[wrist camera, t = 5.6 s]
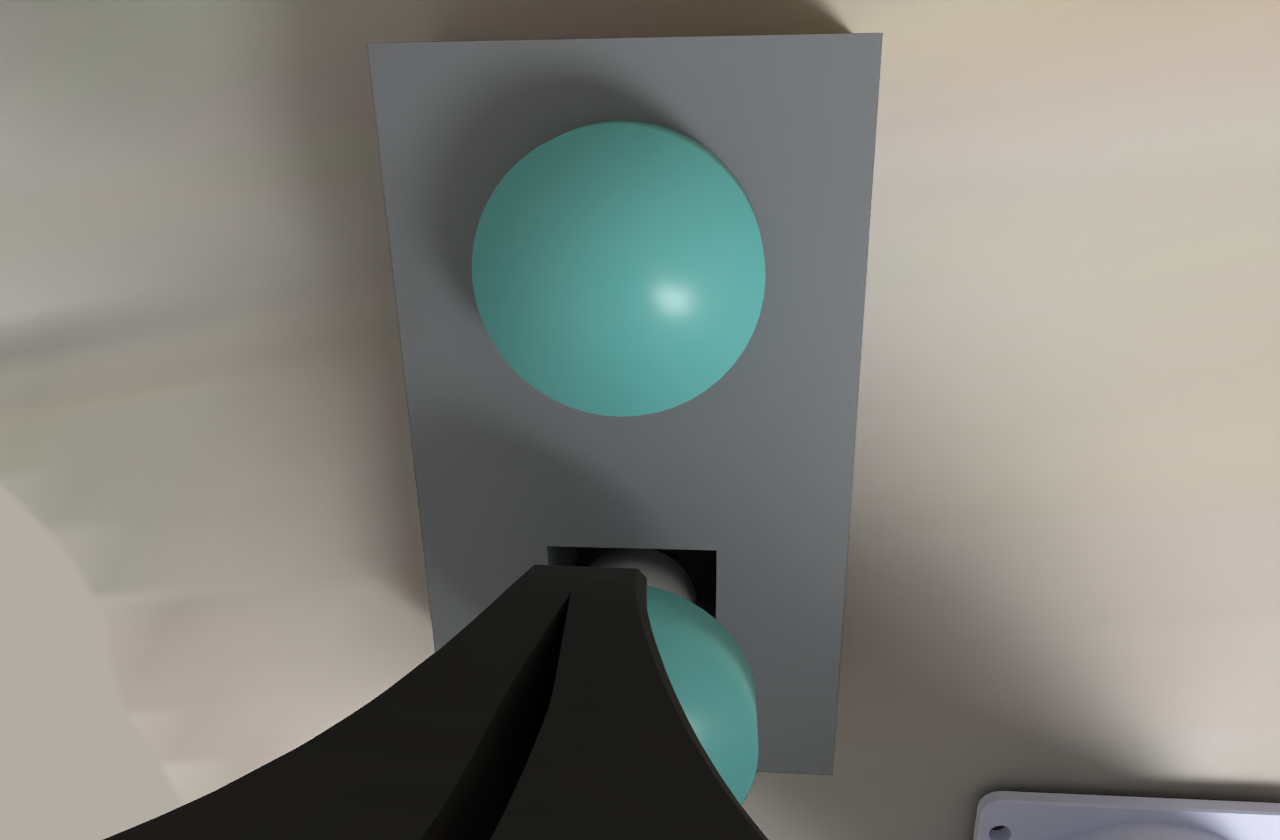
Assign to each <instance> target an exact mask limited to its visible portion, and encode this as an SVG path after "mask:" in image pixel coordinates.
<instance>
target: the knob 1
mask: <svg viewBox="0 0 1280 840" xmlns="http://www.w3.org/2000/svg"><path fill="white" fill-rule="evenodd" d="M765 280H766V277H765V258H764V252H763V246H762V240H761V235H760V230H759V225H758V222H757V219H756V216H755V213H754V209H753V207H752V205H751V203H750V201H749V199H748V196H747V194H746V192H745V191H744V189H743V188H742V186H741V184H740V183H739V181H738V180H737V178H736V177H735V175H734V174H733V173H732V172H731V171H730V169H729V168H728V167H727V166H726V165H725V164H724V162H723V161H721V160H720V159H719V158H718V157H717V156H716V155H715V154H714V153H713V152H711V151H710V150H709V149H708V148H706V147H705V146H703V145H702V144H701V143H699V142H698V141H696V140H695V139H693V138H691V137H689V136H687V135H685V134H683V133H681V132H679V131H677V130H674V129H672V128H669V127H666V126H663V125H660V124H656V123H651V122H645V121H640V120H623V119H619V120H607V121H600V122H595V123H591V124H586V125H583V126H580V127H577V128H575V129H572V130H569V131H567V132H565V133H563V134H561V135H559V136H557V137H555V138H553V139H551V140H550V141H548V142H546V143H544V144H542V145H540V146H539V147H537V148H535V149H534V150H533V151H531V152H530V153H529V154H527V155H526V156H525V157H523V158H522V159H521V160H520V161H519V162H518V163H517V164H516V165H515V166H514V167H513V168H511V169H510V170H509V171H508V172H507V174H506V175H505V176H504V177H503V179H502V180H501V181H500V183H499V184H498V185H497V187H496V188H495V190H494V191H493V193H492V195H491V197H490V198H489V200H488V202H487V204H486V206H485V208H484V210H483V213H482V215H481V218H480V220H479V223H478V227H477V231H476V235H475V239H474V245H473V254H472V281H473V288H474V295H475V300H476V303H477V307H478V310H479V314H480V317H481V319H482V322H483V324H484V326H485V329H486V331H487V333H488V335H489V337H490V338H491V340H492V342H493V344H494V345H495V347H496V349H497V350H498V351H499V353H500V354H501V355H502V357H503V358H504V359H505V361H506V362H507V363H508V364H509V365H510V366H511V368H512V369H513V370H514V371H515V372H516V373H517V374H518V375H519V376H520V377H521V378H523V379H524V380H525V381H526V382H527V383H529V384H530V385H531V386H532V387H534V388H535V389H537V390H538V391H540V392H541V393H543V394H544V395H546V396H548V397H549V398H551V399H553V400H555V401H557V402H560V403H562V404H564V405H566V406H568V407H571V408H575V409H578V410H581V411H584V412H588V413H593V414H598V415H604V416H618V417H625V416H641V415H646V414H652V413H657V412H661V411H664V410H667V409H670V408H674V407H676V406H678V405H680V404H683V403H685V402H687V401H689V400H691V399H693V398H695V397H696V396H698V395H699V394H701V393H703V392H704V391H706V390H707V389H708V388H710V387H711V386H712V385H713V384H715V383H716V382H717V381H718V380H720V379H721V378H722V377H723V375H724V374H725V373H726V372H727V371H728V370H729V369H730V368H731V367H732V366H733V365H734V363H735V362H736V361H737V359H738V358H739V357H740V355H741V354H742V352H743V351H744V349H745V347H746V346H747V344H748V342H749V340H750V338H751V336H752V335H753V332H754V329H755V327H756V324H757V322H758V319H759V316H760V312H761V308H762V303H763V299H764V290H765Z"/></svg>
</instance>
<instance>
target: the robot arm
mask: <svg viewBox="0 0 1280 840" xmlns="http://www.w3.org/2000/svg"><path fill="white" fill-rule="evenodd" d="M1001 825H1002V826H1005V827H1003V828H1002V829H1000V830H991V829H992V828H994V827H995V826H1001ZM104 840H768V839H767V838H766V836H765V835H764V834H763V833H762V831H761V830H760V829H759V828H758V826H757V825H756V824H755V823H754V821H753V820H752V819H751V818H750V816H749V815H748V814H747V813H746V811H745V810H744V809H743V808H742V806H741V805H740V804H739V802H738V801H737V799H736V798H735V796H734V795H733V793H732V792H731V790H730V789H729V787H728V786H727V784H726V783H725V781H724V780H723V779H722V777H721V776H720V774H719V773H718V771H717V769H716V768H715V766H714V764H713V763H712V761H711V760H710V758H709V756H708V755H707V753H706V751H705V750H704V748H703V746H702V745H701V743H700V741H699V739H698V737H697V736H696V734H695V732H694V730H693V728H692V726H691V724H690V722H689V721H688V719H687V717H686V715H685V712H684V710H683V708H682V706H681V704H680V702H679V700H678V698H677V696H676V694H675V691H674V689H673V687H672V684H671V682H670V680H669V677H668V675H667V672H666V670H665V667H664V664H663V661H662V659H661V656H660V653H659V650H658V647H657V645H656V642H655V639H654V635H653V632H652V628H651V624H650V620H649V615H648V611H647V578H646V577H645V575H644V574H643V573H642V572H641V571H640V570H639V569H637V568H611V567H584V566H558V565H533V566H532V567H531V568H530V569H529V570H528V571H526V572H525V573H524V574H523V575H522V576H521V577H520V578H519V579H517V580H516V581H515V582H514V583H513V584H512V585H511V586H510V587H509V588H508V589H506V590H505V591H504V592H503V593H502V594H501V595H500V596H499V597H498V598H497V599H496V600H494V601H493V602H492V603H491V604H490V605H489V606H488V607H487V608H486V609H485V610H484V611H482V612H481V613H480V614H479V615H478V616H477V617H476V618H475V619H474V620H473V621H471V622H470V623H469V624H468V625H467V626H466V627H465V628H463V629H462V630H461V631H460V632H459V633H458V634H456V635H455V636H454V637H453V638H452V639H451V640H450V641H448V642H447V643H446V644H445V645H444V646H443V647H441V648H440V649H439V650H438V651H437V652H435V653H434V654H433V655H431V656H430V657H429V658H428V659H426V660H425V661H424V662H422V663H421V664H420V665H419V666H417V667H416V668H415V669H413V670H412V671H411V672H409V673H408V674H407V675H406V676H404V677H403V678H402V679H400V680H399V681H398V682H397V683H395V684H394V685H393V686H391V687H390V688H389V689H388V690H386V691H385V692H383V693H382V694H381V695H379V696H378V697H376V698H375V699H374V700H372V701H371V702H369V703H368V704H366V705H365V706H363V707H362V708H360V709H359V710H357V711H356V712H354V713H353V714H351V715H350V716H348V717H347V718H345V719H343V720H342V721H340V722H339V723H337V724H335V725H334V726H332V727H331V728H329V729H327V730H326V731H324V732H323V733H321V734H319V735H318V736H316V737H315V738H313V739H311V740H310V741H308V742H306V743H305V744H303V745H301V746H299V747H298V748H296V749H294V750H292V751H290V752H288V753H287V754H285V755H283V756H281V757H279V758H277V759H275V760H273V761H271V762H269V763H268V764H266V765H264V766H262V767H260V768H258V769H256V770H254V771H252V772H250V773H248V774H247V775H245V776H243V777H241V778H239V779H237V780H235V781H233V782H231V783H229V784H228V785H226V786H224V787H222V788H220V789H218V790H216V791H214V792H212V793H210V794H208V795H206V796H203V797H201V798H199V799H197V800H195V801H192V802H190V803H188V804H186V805H184V806H181V807H179V808H177V809H175V810H173V811H170V812H168V813H166V814H164V815H161V816H159V817H157V818H155V819H152V820H150V821H147V822H145V823H142V824H140V825H138V826H135V827H133V828H130V829H128V830H126V831H123V832H121V833H118V834H116V835H114V836H111V837H109V838H106V839H104ZM973 840H1280V803H1265V802H1242V801H1219V800H1196V799H1174V798H1151V797H1128V796H1106V795H1083V794H1060V793H1037V792H1015V791H995V792H991V793H989V794H987V795H985V796H984V797H983V798H982V799H981V800H980V801H979V804H978V807H977V814H976V821H975V828H974V836H973Z"/></svg>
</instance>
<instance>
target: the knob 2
mask: <svg viewBox="0 0 1280 840" xmlns="http://www.w3.org/2000/svg"><path fill="white" fill-rule="evenodd" d="M588 567H611V568H637V569H639V570H640V571H641V572H642V573H643V574H644V575H645V577H646V578H647V611H648V615H649V620H650V624H651V628H652V632H653V635H654V639H655V642H656V645H657V647H658V650H659V653H660V656H661V659H662V661H663V664H664V667H665V670H666V672H667V675H668V677H669V680H670V682H671V684H672V687H673V689H674V691H675V694H676V696H677V698H678V700H679V702H680V704H681V706H682V708H683V710H684V712H685V715H686V717H687V719H688V721H689V722H690V724H691V726H692V728H693V730H694V732H695V734H696V736H697V737H698V739H699V741H700V743H701V745H702V746H703V748H704V750H705V751H706V753H707V755H708V756H709V758H710V760H711V761H712V763H713V764H714V766H715V768H716V769H717V771H718V773H719V774H720V776H721V777H722V779H723V780H724V781H725V783H726V784H727V786H728V787H729V789H730V790H731V792H732V793H733V795H734V796H735V798H736V799H737V801H738V802H739V804H740V805H741V804H742V802H743V801H744V799H745V798H746V796H747V794H748V792H749V790H750V788H751V785H752V783H753V780H754V776H755V773H756V769H757V762H758V754H759V752H758V731H757V710H756V690H755V685H754V680H753V675H752V672H751V670H750V667H749V664H748V662H747V659H746V657H745V656H744V654H743V652H742V650H741V648H740V647H739V645H738V644H737V642H736V641H735V640H734V638H733V637H732V636H731V634H730V633H729V632H728V631H727V630H726V629H725V628H724V627H723V626H722V625H721V624H720V623H719V622H718V621H717V620H716V619H715V618H713V617H712V616H711V615H710V614H708V613H707V612H706V611H705V610H703V609H702V608H700V607H698V606H697V605H696V593H695V589H694V586H693V583H692V581H691V579H690V577H689V575H688V574H687V572H686V571H685V570H684V569H683V567H682V566H681V565H680V564H679V563H677V562H676V561H675V560H674V559H672V558H671V557H669V556H667V555H666V554H664V553H661V552H659V551H656V550H653V549H641V548H618V549H615V550H611V551H609V552H607V553H605V554H603V555H601V556H599V557H598V558H597V559H595V560H594V561H593V562H592V563H591V564H590V565H589V566H588Z"/></svg>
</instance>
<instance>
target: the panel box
mask: <svg viewBox="0 0 1280 840" xmlns="http://www.w3.org/2000/svg"><path fill="white" fill-rule="evenodd" d="M882 35H883V33H847V34H798V35H748V36H699V37H649V38H600V39H550V40H501V41H452V42H402V43H367V46H368V55H369V64H370V73H371V82H372V91H373V100H374V109H375V118H376V127H377V136H378V145H379V154H380V163H381V172H382V181H383V190H384V199H385V208H386V217H387V225H388V234H389V243H390V252H391V261H392V270H393V279H394V288H395V297H396V306H397V315H398V324H399V333H400V342H401V351H402V360H403V369H404V378H405V387H406V396H407V405H408V414H409V423H410V432H411V441H412V449H413V458H414V467H415V476H416V485H417V494H418V503H419V512H420V521H421V530H422V539H423V548H424V557H425V566H426V575H427V584H428V593H429V602H430V611H431V620H432V629H433V638H434V647H435V652H437V651H438V650H439V649H440V648H441V647H443V646H444V645H445V644H446V643H447V642H448V641H450V640H451V639H452V638H453V637H454V636H455V635H456V634H458V633H459V632H460V631H461V630H462V629H463V628H465V627H466V626H467V625H468V624H469V623H470V622H471V621H473V620H474V619H475V618H476V617H477V616H478V615H479V614H480V613H481V612H482V611H484V610H485V609H486V608H487V607H488V606H489V605H490V604H491V603H492V602H493V601H494V600H496V599H497V598H498V597H499V596H500V595H501V594H502V593H503V592H504V591H505V590H506V589H508V588H509V587H510V586H511V585H512V584H513V583H514V582H515V581H516V580H517V579H519V578H520V577H521V576H522V575H523V574H524V573H525V572H526V571H528V570H529V569H530V568H531V567H532V566H533V565H558V566H578V560H577V547H600V548H641V549H683V550H717V570H716V601H696V605H697V606H698V607H700V608H702V609H703V610H705V611H706V612H707V613H708V614H710V615H711V616H712V617H713V618H715V619H716V620H717V621H718V622H719V623H720V624H721V625H722V626H723V627H724V628H725V629H726V630H727V631H728V632H729V633H730V634H731V636H732V637H733V638H734V640H735V641H736V642H737V644H738V645H739V647H740V648H741V650H742V652H743V654H744V656H745V657H746V659H747V662H748V664H749V667H750V670H751V672H752V675H753V680H754V685H755V690H756V710H757V731H758V752H759V754H758V762H757V769H756V772H774V773H797V774H820V775H832V773H833V759H834V744H835V729H836V714H837V700H838V685H839V670H840V655H841V640H842V626H843V611H844V596H845V581H846V567H847V552H848V537H849V522H850V508H851V493H852V478H853V463H854V449H855V434H856V419H857V404H858V389H859V375H860V360H861V345H862V330H863V316H864V301H865V286H866V271H867V257H868V242H869V227H870V212H871V198H872V183H873V168H874V153H875V139H876V124H877V109H878V94H879V79H880V65H881V50H882ZM619 119H623V120H640V121H645V122H651V123H656V124H660V125H663V126H666V127H669V128H672V129H674V130H677V131H679V132H681V133H683V134H685V135H687V136H689V137H691V138H693V139H695V140H696V141H698V142H699V143H701V144H702V145H703V146H705V147H706V148H708V149H709V150H710V151H711V152H713V153H714V154H715V155H716V156H717V157H718V158H719V159H720V160H721V161H723V162H724V164H725V165H726V166H727V167H728V168H729V169H730V171H731V172H732V173H733V174H734V175H735V177H736V178H737V180H738V181H739V183H740V184H741V186H742V188H743V189H744V191H745V192H746V194H747V196H748V199H749V201H750V203H751V205H752V207H753V209H754V213H755V216H756V219H757V222H758V225H759V230H760V235H761V240H762V246H763V252H764V258H765V277H766V280H765V290H764V299H763V303H762V308H761V312H760V316H759V319H758V322H757V324H756V327H755V329H754V332H753V335H752V336H751V338H750V340H749V342H748V344H747V346H746V347H745V349H744V351H743V352H742V354H741V355H740V357H739V358H738V359H737V361H736V362H735V363H734V365H733V366H732V367H731V368H730V369H729V370H728V371H727V372H726V373H725V374H724V375H723V377H722V378H721V379H720V380H718V381H717V382H716V383H715V384H713V385H712V386H711V387H710V388H708V389H707V390H706V391H704V392H703V393H701V394H699V395H698V396H696V397H695V398H693V399H691V400H689V401H687V402H685V403H683V404H680V405H678V406H676V407H674V408H670V409H667V410H664V411H661V412H657V413H652V414H646V415H641V416H625V417H618V416H604V415H598V414H593V413H588V412H584V411H581V410H578V409H575V408H571V407H568V406H566V405H564V404H562V403H560V402H557V401H555V400H553V399H551V398H549V397H548V396H546V395H544V394H543V393H541V392H540V391H538V390H537V389H535V388H534V387H532V386H531V385H530V384H529V383H527V382H526V381H525V380H524V379H523V378H521V377H520V376H519V375H518V374H517V373H516V372H515V371H514V370H513V369H512V368H511V366H510V365H509V364H508V363H507V362H506V361H505V359H504V358H503V357H502V355H501V354H500V353H499V351H498V350H497V349H496V347H495V345H494V344H493V342H492V340H491V338H490V337H489V335H488V333H487V331H486V329H485V326H484V324H483V322H482V319H481V317H480V314H479V310H478V307H477V303H476V300H475V295H474V288H473V281H472V254H473V245H474V239H475V235H476V231H477V227H478V223H479V220H480V218H481V215H482V213H483V210H484V208H485V206H486V204H487V202H488V200H489V198H490V197H491V195H492V193H493V191H494V190H495V188H496V187H497V185H498V184H499V183H500V181H501V180H502V179H503V177H504V176H505V175H506V174H507V172H508V171H509V170H510V169H511V168H513V167H514V166H515V165H516V164H517V163H518V162H519V161H520V160H521V159H522V158H523V157H525V156H526V155H527V154H529V153H530V152H531V151H533V150H534V149H535V148H537V147H539V146H540V145H542V144H544V143H546V142H548V141H550V140H551V139H553V138H555V137H557V136H559V135H561V134H563V133H565V132H567V131H569V130H572V129H575V128H577V127H580V126H583V125H586V124H591V123H595V122H600V121H607V120H619Z"/></svg>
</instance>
